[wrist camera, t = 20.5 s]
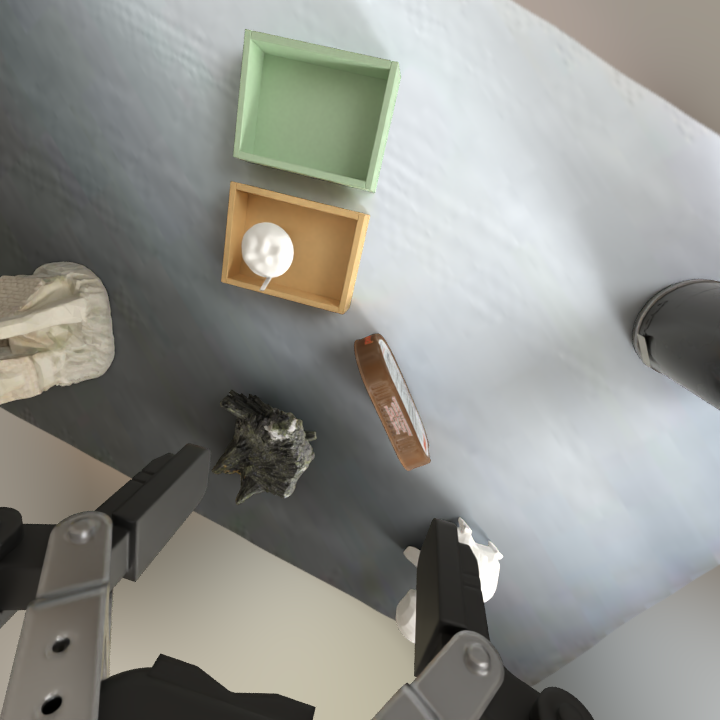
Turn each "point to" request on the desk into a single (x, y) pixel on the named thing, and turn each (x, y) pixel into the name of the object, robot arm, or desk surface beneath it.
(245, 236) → the milkshake
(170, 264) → the desk surface
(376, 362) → the tin
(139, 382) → the desk surface
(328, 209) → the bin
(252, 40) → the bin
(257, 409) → the mineral specimen
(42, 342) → the ceramic cottage
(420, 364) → the desk surface
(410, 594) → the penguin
